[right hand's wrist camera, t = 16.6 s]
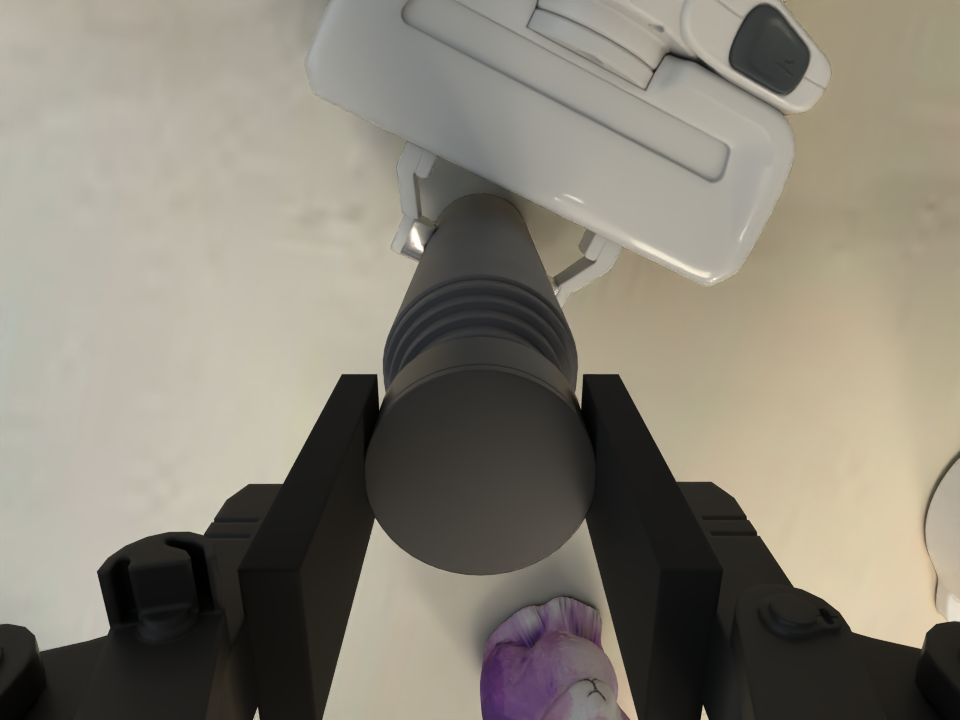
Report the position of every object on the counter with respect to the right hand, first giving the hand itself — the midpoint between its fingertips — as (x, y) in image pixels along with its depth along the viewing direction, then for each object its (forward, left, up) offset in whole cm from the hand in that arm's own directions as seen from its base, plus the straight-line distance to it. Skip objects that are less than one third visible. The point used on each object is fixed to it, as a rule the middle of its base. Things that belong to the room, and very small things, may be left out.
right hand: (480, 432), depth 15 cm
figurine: (-26, +10, -23) cm, 37 cm away
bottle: (0, 0, -23) cm, 23 cm away
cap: (0, 0, +2) cm, 2 cm away
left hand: (-1, +1, -17) cm, 17 cm away
